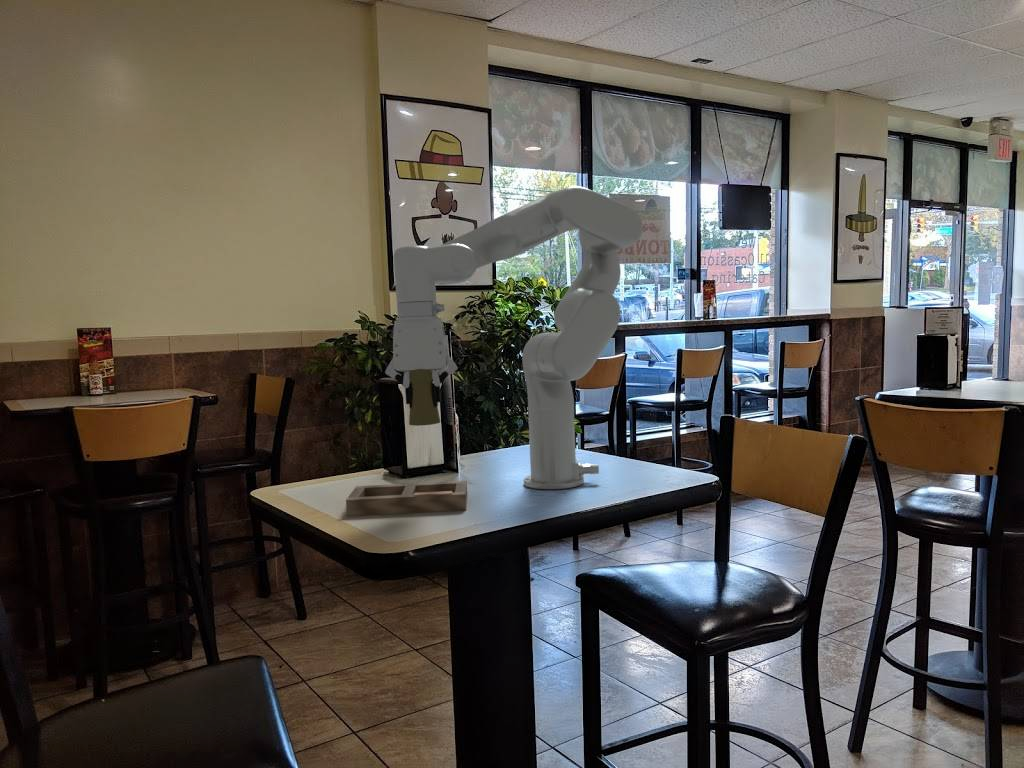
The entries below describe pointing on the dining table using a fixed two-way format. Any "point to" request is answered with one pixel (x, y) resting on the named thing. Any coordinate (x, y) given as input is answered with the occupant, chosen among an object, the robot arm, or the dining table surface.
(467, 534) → the dining table surface
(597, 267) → the robot arm
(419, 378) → the olive tall rounded piece
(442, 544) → the dining table surface
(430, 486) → the caddy
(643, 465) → the dining table surface
